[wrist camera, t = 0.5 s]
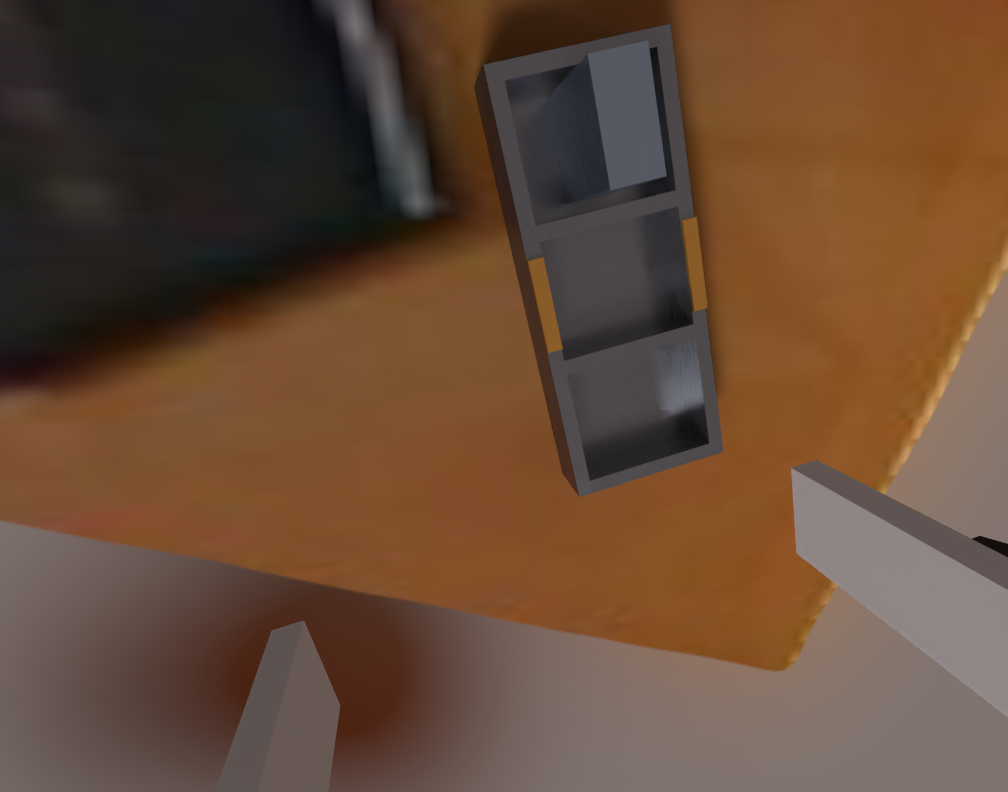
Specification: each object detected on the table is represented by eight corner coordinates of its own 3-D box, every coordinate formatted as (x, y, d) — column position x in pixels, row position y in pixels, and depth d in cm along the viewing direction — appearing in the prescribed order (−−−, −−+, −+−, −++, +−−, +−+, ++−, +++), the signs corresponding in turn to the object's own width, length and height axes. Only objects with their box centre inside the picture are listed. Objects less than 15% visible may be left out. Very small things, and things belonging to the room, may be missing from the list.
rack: (474, 87, 33) (498, 27, 24) (639, 50, 34) (719, -20, 26) (562, 473, 41) (604, 532, 33) (693, 433, 43) (767, 479, 34)
